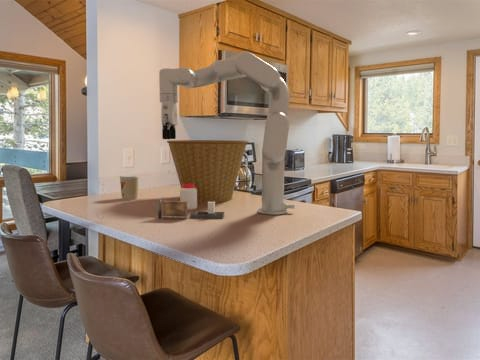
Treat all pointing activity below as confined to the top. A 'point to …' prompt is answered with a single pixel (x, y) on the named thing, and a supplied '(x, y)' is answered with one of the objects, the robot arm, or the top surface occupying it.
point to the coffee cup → (129, 187)
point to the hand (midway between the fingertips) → (169, 139)
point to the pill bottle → (189, 195)
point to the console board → (207, 215)
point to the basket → (208, 166)
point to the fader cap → (211, 207)
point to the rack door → (175, 208)
